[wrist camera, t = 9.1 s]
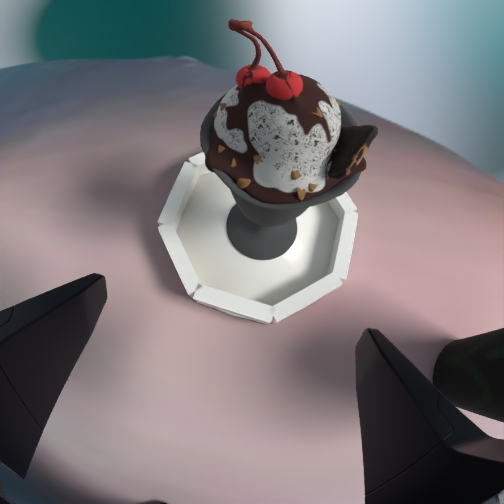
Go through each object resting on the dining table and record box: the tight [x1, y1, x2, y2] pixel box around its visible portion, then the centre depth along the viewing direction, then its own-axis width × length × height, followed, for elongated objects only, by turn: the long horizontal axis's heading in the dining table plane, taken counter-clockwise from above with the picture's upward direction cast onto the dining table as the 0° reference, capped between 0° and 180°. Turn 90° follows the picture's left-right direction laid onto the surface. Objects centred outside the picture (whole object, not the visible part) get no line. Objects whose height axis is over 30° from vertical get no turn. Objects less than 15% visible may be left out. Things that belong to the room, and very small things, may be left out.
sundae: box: [200, 19, 378, 260], centre depth 13 cm, size 7×7×15 cm
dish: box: [158, 152, 358, 324], centre depth 20 cm, size 13×13×2 cm
